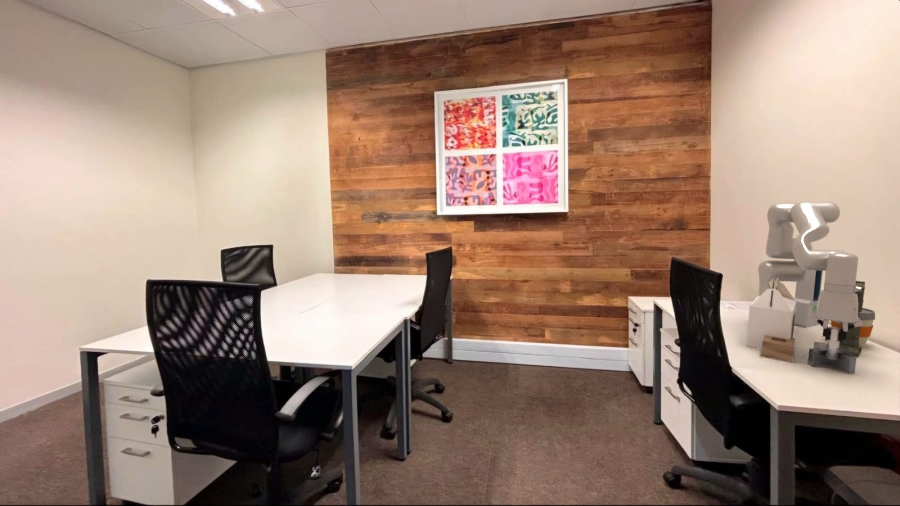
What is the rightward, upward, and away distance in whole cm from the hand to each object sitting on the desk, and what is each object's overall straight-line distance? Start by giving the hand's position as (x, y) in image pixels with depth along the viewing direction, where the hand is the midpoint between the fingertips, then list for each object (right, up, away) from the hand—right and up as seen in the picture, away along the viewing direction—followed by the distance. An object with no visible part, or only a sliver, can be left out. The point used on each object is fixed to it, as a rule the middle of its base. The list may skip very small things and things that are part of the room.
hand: (833, 339), depth 135 cm
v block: (+3, -10, +4) cm, 11 cm away
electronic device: (+35, -4, +50) cm, 62 cm away
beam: (-8, -9, +14) cm, 18 cm away
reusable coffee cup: (+29, -8, +23) cm, 38 cm away
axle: (0, -7, +1) cm, 7 cm away
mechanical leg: (+21, -9, +15) cm, 27 cm away
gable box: (0, -8, +26) cm, 28 cm away
